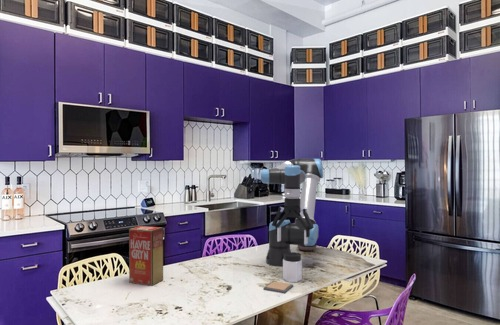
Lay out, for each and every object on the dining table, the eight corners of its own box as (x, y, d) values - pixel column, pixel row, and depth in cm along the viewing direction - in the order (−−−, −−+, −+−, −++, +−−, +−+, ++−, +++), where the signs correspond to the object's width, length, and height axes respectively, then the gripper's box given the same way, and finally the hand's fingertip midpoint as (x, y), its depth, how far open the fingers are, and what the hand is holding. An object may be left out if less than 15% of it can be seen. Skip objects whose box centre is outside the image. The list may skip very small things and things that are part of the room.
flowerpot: (295, 252, 221) (295, 220, 221) (296, 246, 237) (296, 216, 237) (318, 253, 219) (319, 220, 219) (318, 247, 234) (318, 217, 234)
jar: (304, 281, 167) (304, 255, 167) (288, 283, 164) (288, 257, 164) (295, 275, 175) (295, 251, 175) (280, 277, 172) (280, 252, 172)
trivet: (263, 289, 156) (263, 287, 156) (272, 282, 164) (272, 280, 164) (284, 293, 151) (284, 291, 151) (293, 286, 160) (293, 284, 160)
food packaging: (127, 282, 164) (128, 228, 164) (140, 276, 173) (140, 225, 173) (152, 286, 160) (152, 230, 160) (164, 279, 169) (164, 226, 169)
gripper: (265, 197, 172) (265, 241, 172) (315, 199, 161) (315, 246, 160) (271, 196, 179) (271, 238, 179) (320, 198, 167) (320, 243, 167)
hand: (292, 242), depth 170 cm, fingers open, 13 cm apart
